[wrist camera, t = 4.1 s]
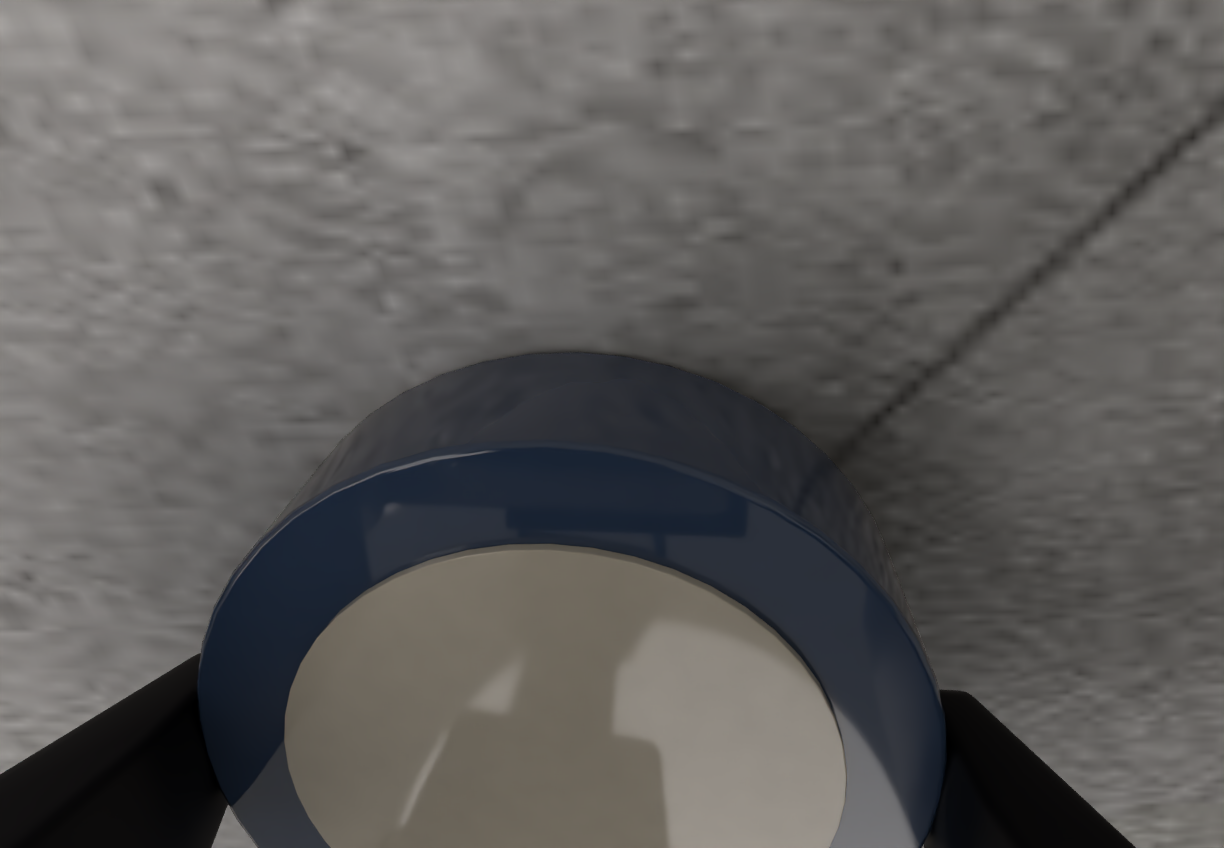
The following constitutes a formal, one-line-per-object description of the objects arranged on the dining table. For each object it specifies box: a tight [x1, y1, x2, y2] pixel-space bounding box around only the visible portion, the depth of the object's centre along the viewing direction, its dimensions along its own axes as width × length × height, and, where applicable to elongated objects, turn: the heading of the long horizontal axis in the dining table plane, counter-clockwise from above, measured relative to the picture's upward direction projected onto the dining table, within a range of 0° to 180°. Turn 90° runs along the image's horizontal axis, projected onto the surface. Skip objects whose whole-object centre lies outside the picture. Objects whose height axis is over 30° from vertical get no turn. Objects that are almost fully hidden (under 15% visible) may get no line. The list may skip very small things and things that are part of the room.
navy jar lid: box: [197, 352, 947, 848], centre depth 9 cm, size 7×7×2 cm
